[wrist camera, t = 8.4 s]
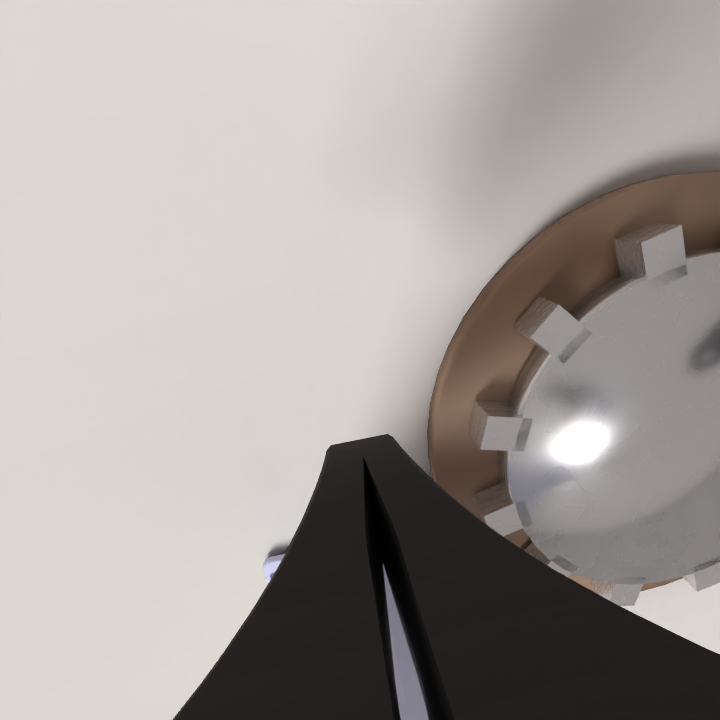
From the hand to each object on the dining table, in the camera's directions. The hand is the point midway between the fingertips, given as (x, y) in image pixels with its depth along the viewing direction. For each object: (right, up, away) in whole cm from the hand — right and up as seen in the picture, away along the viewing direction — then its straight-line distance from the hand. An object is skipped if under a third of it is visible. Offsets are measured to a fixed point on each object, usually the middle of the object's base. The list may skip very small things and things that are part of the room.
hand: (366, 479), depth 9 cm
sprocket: (+15, -1, +12) cm, 19 cm away
